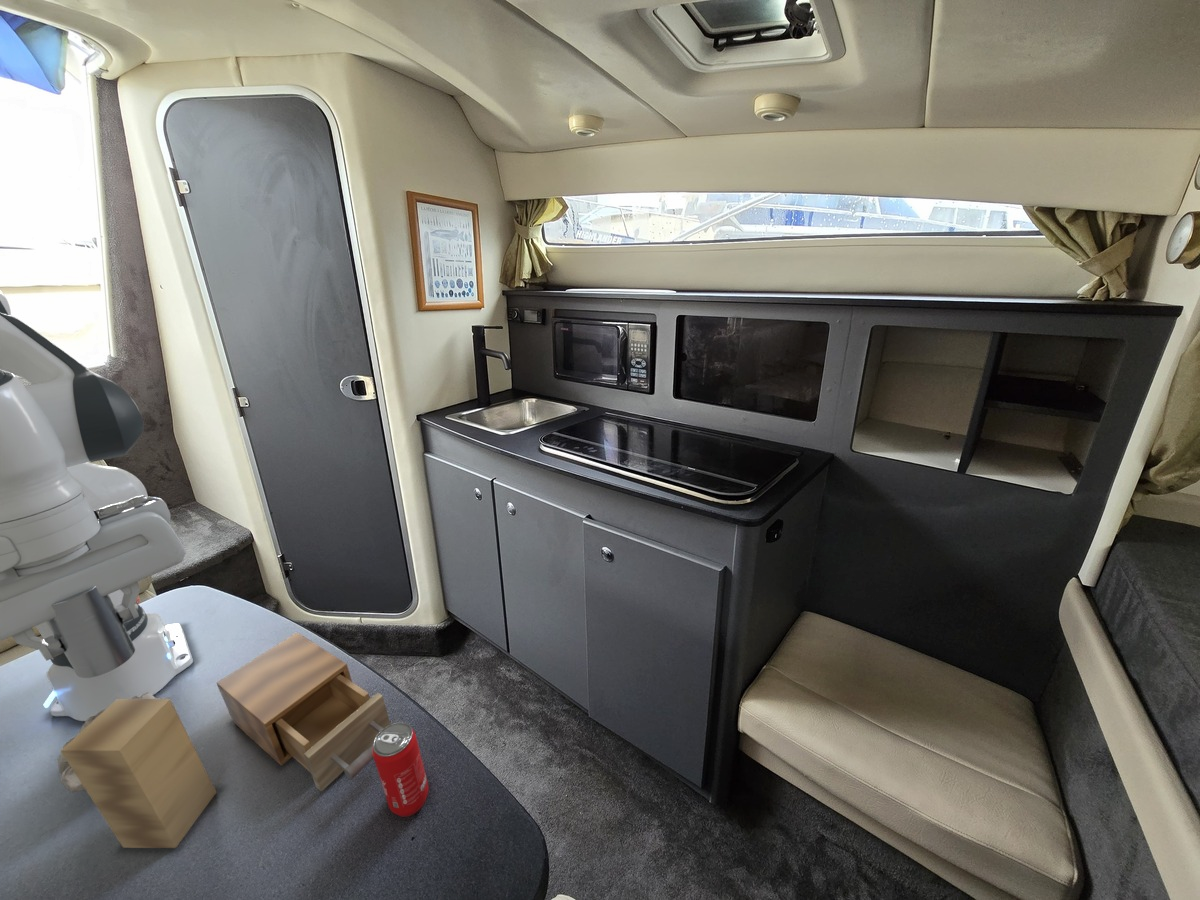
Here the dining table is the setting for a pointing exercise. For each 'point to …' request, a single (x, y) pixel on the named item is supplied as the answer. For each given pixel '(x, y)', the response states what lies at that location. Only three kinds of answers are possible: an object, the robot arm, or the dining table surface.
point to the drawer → (333, 730)
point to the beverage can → (400, 769)
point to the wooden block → (141, 772)
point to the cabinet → (277, 688)
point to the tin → (91, 633)
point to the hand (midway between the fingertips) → (93, 636)
